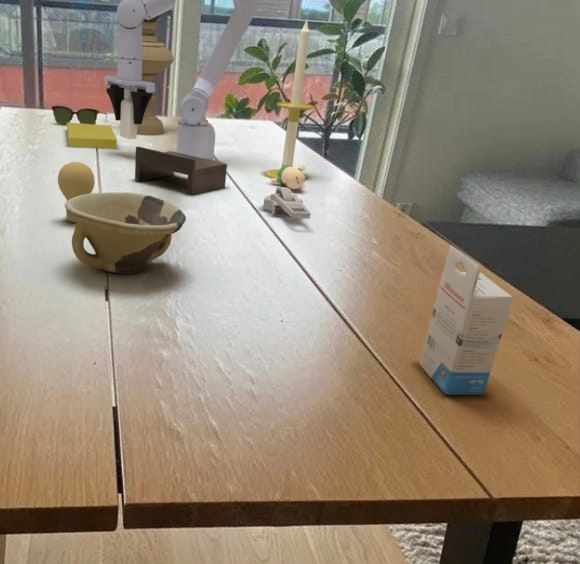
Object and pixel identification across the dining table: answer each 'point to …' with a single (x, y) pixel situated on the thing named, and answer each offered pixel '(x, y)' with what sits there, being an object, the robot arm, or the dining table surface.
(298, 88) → the candle
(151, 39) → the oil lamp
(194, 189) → the shelf
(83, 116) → the sunglasses
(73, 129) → the flat olive board
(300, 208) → the zipper pull
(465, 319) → the ink box
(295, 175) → the toy figurine
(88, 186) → the light bulb
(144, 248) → the bowl
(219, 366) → the dining table surface
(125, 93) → the eye dropper bottle
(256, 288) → the dining table surface
